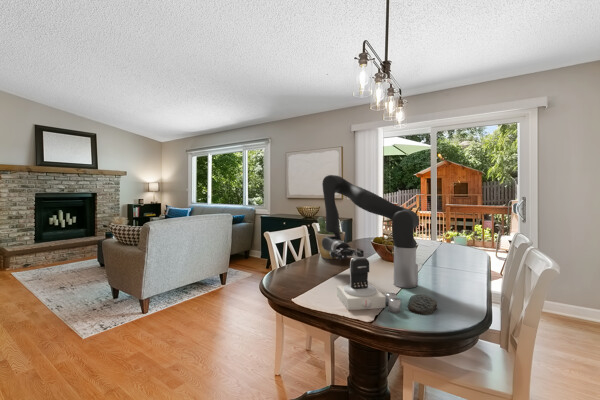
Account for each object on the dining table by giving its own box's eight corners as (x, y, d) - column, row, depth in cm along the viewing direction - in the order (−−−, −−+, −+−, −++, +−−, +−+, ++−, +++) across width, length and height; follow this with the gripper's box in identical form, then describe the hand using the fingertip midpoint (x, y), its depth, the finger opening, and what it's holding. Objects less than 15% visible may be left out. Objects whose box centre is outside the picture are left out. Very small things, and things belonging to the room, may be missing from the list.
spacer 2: (397, 308, 101) (397, 297, 101) (402, 313, 97) (402, 301, 97) (386, 309, 100) (386, 298, 100) (391, 314, 96) (391, 302, 96)
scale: (370, 293, 115) (370, 281, 115) (386, 308, 101) (386, 294, 100) (337, 295, 113) (337, 283, 113) (348, 310, 99) (348, 296, 99)
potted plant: (344, 253, 187) (344, 216, 186) (345, 260, 168) (346, 219, 167) (316, 253, 188) (316, 216, 188) (315, 260, 170) (315, 218, 169)
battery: (353, 290, 105) (353, 259, 104) (349, 287, 108) (349, 257, 108) (370, 289, 106) (370, 258, 106) (366, 285, 110) (366, 256, 109)
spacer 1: (393, 302, 106) (393, 292, 106) (398, 307, 102) (398, 296, 102) (383, 303, 105) (383, 292, 105) (387, 307, 101) (388, 296, 101)
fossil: (440, 306, 103) (440, 295, 103) (428, 318, 94) (428, 306, 93) (412, 299, 110) (412, 289, 110) (399, 309, 100) (399, 298, 100)
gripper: (325, 241, 132) (334, 248, 116) (355, 240, 134) (367, 247, 118) (326, 257, 133) (334, 266, 117) (355, 256, 135) (367, 264, 118)
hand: (351, 256), depth 117 cm, fingers open, 8 cm apart
